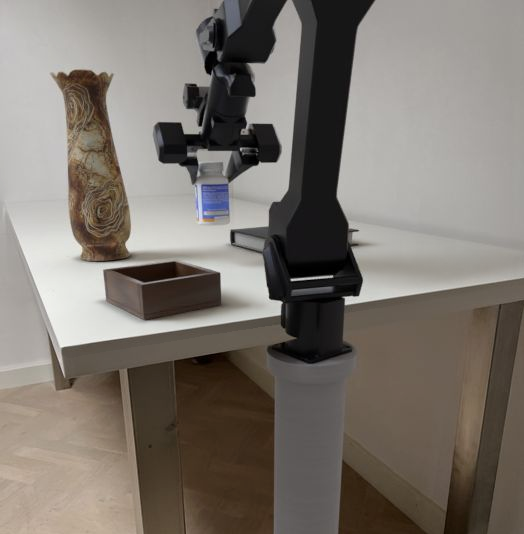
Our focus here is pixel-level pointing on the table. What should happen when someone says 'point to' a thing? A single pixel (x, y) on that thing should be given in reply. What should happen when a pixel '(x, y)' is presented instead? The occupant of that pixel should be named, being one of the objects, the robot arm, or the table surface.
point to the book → (260, 238)
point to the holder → (162, 288)
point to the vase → (93, 168)
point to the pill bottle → (212, 195)
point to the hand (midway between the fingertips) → (209, 182)
